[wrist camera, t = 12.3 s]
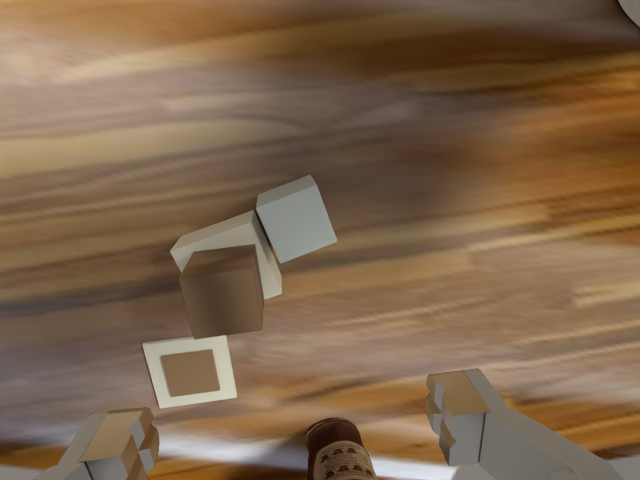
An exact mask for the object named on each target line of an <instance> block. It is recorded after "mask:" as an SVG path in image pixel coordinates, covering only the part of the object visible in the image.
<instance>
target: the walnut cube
mask: <svg viewBox="0 0 640 480" xmlns="http://www.w3.org/2000/svg"><path fill="white" fill-rule="evenodd" d="M179 283H180V287H181V291H182V295H183V299H184V303H185V306H186V310H187V314H188V318H189V322H190V326H191V330H192V334H193V338H194V340H196V339H203V338H210V337H217V336H223V335H230V334H237V333H244V332H251V331H258V330H262V327H263V307H264V294H263V288H262V282H261V276H260V270H259V264H258V257H257V251H256V245H255V244H251V245H243V246H235V247H227V248H219V249H211V250H203V251H195V252H193V254H192V255H191V257H190V259H189V261H188V263H187V264H186V266H185V268H184V270H183V271H182V273H181V275H180V277H179Z"/></svg>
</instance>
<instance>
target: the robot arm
mask: <svg viewBox="0 0 640 480" xmlns="http://www.w3.org/2000/svg"><path fill="white" fill-rule="evenodd" d="M619 3H620V5H621V6H622V8H623V10H624V11H625V12H626V14H627V15H628V16H629V17H630V18H631V19H632V20H633V21H634V22H635V23H636V24H637V25H638V26H639V27H640V0H619ZM426 385H427V387H428V389H429V391H430V392H429V394H428V395H427V396H426V411H427V416H428V420H429V423H430V425H431V428H432V430H433V431H434V432H435V433H437V434H438V435H439V446H440V448H441V450H442V452H443V455H444V457H445V459H446V461H447V463H448V466H456V465H466V464H476V463H479V465H480V466H481V467H482V468H483V469H484V470H486V471H487V472H488V473H489V474H490V475H491V476H492V477H494V478H495V479H496V480H624V479H623V478H622V476H621V475H620V474H619V473H618V472H617V471H616V470H615V469H614V467H613V466H612V465H611V464H610V463H608V462H606V461H605V460H603V459H601V458H599V457H598V456H596V455H594V454H592V453H591V452H589V451H587V450H585V449H584V448H582V447H580V446H578V445H577V444H575V443H573V442H571V441H570V440H568V439H566V438H564V437H562V436H561V435H559V434H557V433H555V432H554V431H552V430H550V429H548V428H547V427H545V426H543V425H541V424H540V423H538V422H536V421H534V420H533V419H531V418H529V417H527V416H526V415H524V414H522V413H520V412H519V411H517V410H510V409H509V408H508V407H507V405H506V404H505V403H504V401H503V400H502V398H501V397H500V396H499V394H498V393H497V392H496V390H495V389H494V388H493V386H492V385H491V384H490V382H489V381H488V379H487V378H486V377H485V375H484V374H483V373H482V371H481V370H479V369H478V368H475V369H467V370H461V371H453V372H445V373H437V374H429V375H428V377H427V384H426ZM152 419H153V415H152V412H151V410H150V408H147V407H144V408H133V409H122V410H112V411H104V412H94V413H92V414H91V415H89V416H88V417H87V419H86V420H85V422H84V424H83V425H82V427H81V428H80V430H79V431H78V433H77V435H76V436H75V438H74V439H73V441H72V442H71V444H70V445H69V447H68V449H67V450H66V452H65V453H64V455H63V456H62V458H61V459H60V461H59V463H58V464H57V466H51V467H49V468H48V469H47V470H45V471H44V472H43V473H41V474H40V475H39V476H37V477H36V478H35V479H34V480H148V478H147V475H146V473H147V472H148V471H149V470H150V469H151V468H152V467H153V466H154V465H155V462H156V459H157V456H158V451H159V435H158V431H157V429H156V428H155V427H154V426H152V425H151V421H152Z"/></svg>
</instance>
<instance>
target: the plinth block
mask: <svg viewBox="0 0 640 480" xmlns="http://www.w3.org/2000/svg"><path fill="white" fill-rule="evenodd" d="M251 244H255V245H256V251H257V257H258V264H259V270H260V276H261V282H262V288H263V294H264V300H266V299H269V298H271V297H274V296H277V295H280V294H282V280H281V273H280V271H279V269H278V266H277V264H276V262H275V259H274V257H273V254H272V252H271V250H270V247H269V245H268V242H267V240H266V238H265V235H264V233H263V231H262V228H261V226H260V223H259V221H258V219H257V216H256V214H255V212H254V210H252V211H249V212H247V213H244V214H241V215H238V216H235V217H233V218H230V219H227V220H224V221H222V222H219V223H216V224H213V225H210V226H208V227H205V228H202V229H199V230H197V231H194V232H191V233H188V234H186V235H183V236H181V237H180V238H179V239H178V241H177V242H176V244H175V245H174V246H173V248H172V249H171V250H170V253H171V255H172V256H173V258H174V260H175V262H176V264H177V266H178V268H179V269H180V271H181V273H182V271H183V270H184V268H185V266H186V264H187V263H188V261H189V259H190V257H191V255H192V254H193V252H195V251H203V250H211V249H219V248H227V247H235V246H243V245H251Z"/></svg>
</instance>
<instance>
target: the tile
mask: <svg viewBox="0 0 640 480" xmlns="http://www.w3.org/2000/svg"><path fill="white" fill-rule="evenodd" d="M142 346H143V349H144V353H145V356H146V360H147V364H148V367H149V371H150V374H151V378H152V382H153V385H154V389H155V392H156V396H157V400H158V403H159V407H160V408H167V407H174V406H181V405H188V404H195V403H202V402H209V401H216V400H224V399H231V398H237V391H236V386H235V380H234V375H233V369H232V364H231V358H230V352H229V347H228V341H227V336H226V335H223V336H217V337H210V338H203V339H196V340H194V338H193V336H191V337H183V338H175V339H167V340H159V341H151V342H144V343H143V345H142Z"/></svg>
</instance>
